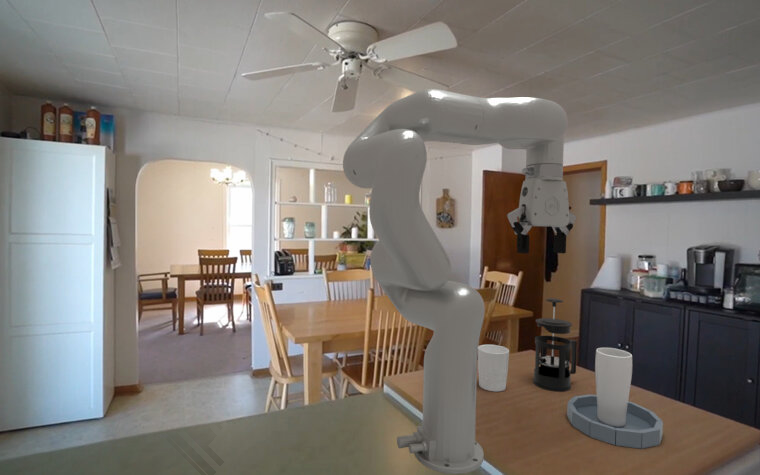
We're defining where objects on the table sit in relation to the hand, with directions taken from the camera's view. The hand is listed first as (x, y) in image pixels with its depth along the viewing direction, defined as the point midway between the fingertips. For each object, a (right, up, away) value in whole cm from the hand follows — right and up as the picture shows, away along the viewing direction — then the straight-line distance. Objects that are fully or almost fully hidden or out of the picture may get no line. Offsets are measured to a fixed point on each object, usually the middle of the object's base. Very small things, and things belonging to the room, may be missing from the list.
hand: (541, 253), depth 88 cm
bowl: (+14, -37, -3) cm, 39 cm away
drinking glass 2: (+14, -36, -3) cm, 39 cm away
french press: (+11, -36, +20) cm, 43 cm away
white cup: (-6, -36, +17) cm, 40 cm away
